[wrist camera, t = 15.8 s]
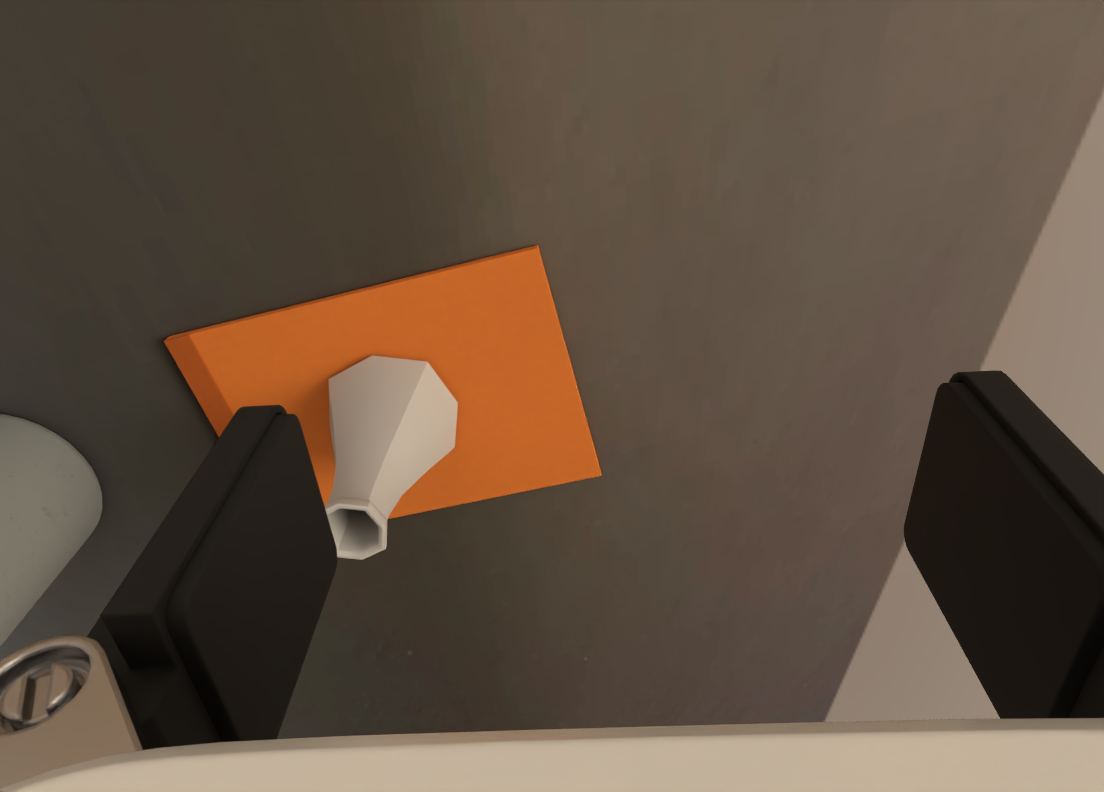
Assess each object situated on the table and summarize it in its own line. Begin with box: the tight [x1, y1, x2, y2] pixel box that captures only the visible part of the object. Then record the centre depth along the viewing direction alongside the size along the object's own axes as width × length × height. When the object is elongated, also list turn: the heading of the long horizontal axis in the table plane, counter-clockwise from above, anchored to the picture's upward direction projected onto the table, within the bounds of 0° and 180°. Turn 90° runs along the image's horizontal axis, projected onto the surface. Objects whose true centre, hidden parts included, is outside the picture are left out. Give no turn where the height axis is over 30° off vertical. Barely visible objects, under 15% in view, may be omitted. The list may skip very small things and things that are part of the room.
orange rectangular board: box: [164, 245, 601, 519], centre depth 41 cm, size 14×20×1 cm
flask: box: [324, 355, 458, 560], centre depth 37 cm, size 7×7×10 cm
